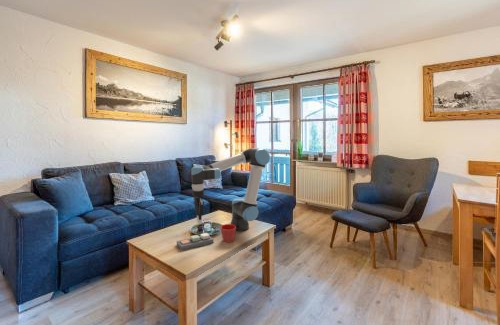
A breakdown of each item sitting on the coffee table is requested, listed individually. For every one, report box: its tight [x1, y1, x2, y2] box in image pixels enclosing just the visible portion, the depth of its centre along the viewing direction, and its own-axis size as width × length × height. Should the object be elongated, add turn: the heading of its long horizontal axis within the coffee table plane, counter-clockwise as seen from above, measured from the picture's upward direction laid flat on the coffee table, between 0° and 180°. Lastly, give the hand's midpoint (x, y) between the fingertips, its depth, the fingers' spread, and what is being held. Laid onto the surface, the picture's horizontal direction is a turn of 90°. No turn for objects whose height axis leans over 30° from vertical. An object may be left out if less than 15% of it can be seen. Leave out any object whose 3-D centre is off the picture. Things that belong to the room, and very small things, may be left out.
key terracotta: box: [180, 239, 190, 245], centre depth 169 cm, size 5×5×2 cm
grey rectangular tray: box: [176, 235, 214, 251], centre depth 173 cm, size 22×10×3 cm, turn 122°
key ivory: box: [199, 232, 211, 240], centre depth 177 cm, size 5×5×2 cm
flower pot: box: [220, 223, 236, 243], centre depth 180 cm, size 11×11×10 cm
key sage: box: [190, 234, 200, 242], centre depth 173 cm, size 5×5×2 cm
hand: (199, 223), depth 174 cm, fingers closed
